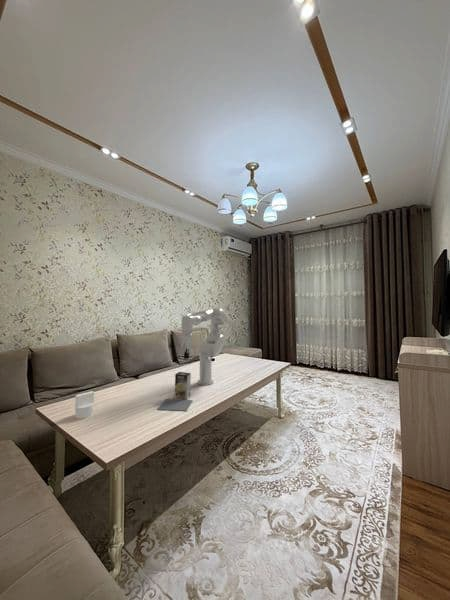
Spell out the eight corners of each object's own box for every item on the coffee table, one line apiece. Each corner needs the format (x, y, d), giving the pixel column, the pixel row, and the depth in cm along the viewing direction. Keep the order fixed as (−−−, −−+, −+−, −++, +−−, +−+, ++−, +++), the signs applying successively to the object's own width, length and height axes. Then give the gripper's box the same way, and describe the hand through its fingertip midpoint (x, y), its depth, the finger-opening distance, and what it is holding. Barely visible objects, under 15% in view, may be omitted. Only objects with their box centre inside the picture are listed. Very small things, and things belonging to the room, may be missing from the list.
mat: (165, 399, 162) (165, 398, 162) (192, 400, 161) (192, 400, 161) (156, 409, 146) (156, 409, 146) (186, 411, 145) (186, 410, 145)
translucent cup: (89, 410, 145) (89, 389, 146) (96, 414, 140) (96, 393, 140) (72, 415, 138) (73, 394, 139) (79, 420, 133) (79, 398, 133)
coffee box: (174, 398, 165) (174, 374, 165) (178, 394, 171) (178, 371, 171) (187, 399, 162) (187, 375, 162) (190, 396, 168) (191, 372, 168)
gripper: (184, 331, 185) (184, 356, 184) (178, 334, 170) (178, 360, 169) (194, 331, 184) (193, 356, 184) (189, 334, 169) (189, 361, 169)
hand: (186, 358), depth 177 cm, fingers closed
